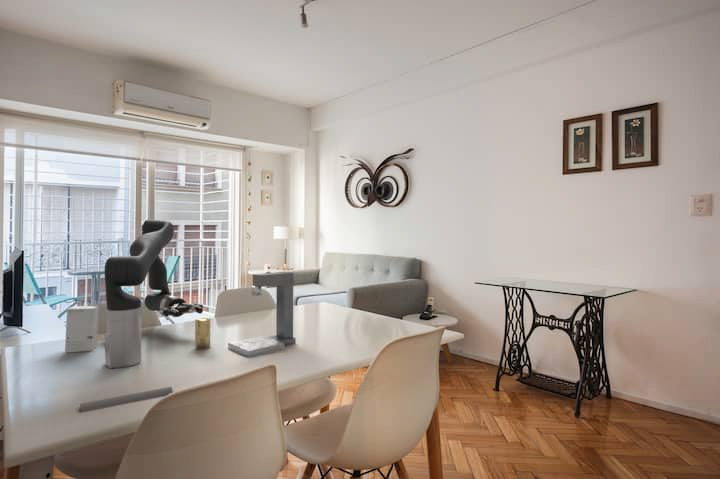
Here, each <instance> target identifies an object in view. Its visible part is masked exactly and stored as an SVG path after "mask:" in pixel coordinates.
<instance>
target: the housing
mask: <svg viewBox="0 0 720 479" xmlns="http://www.w3.org/2000/svg"><path fill="white" fill-rule="evenodd" d="M194 323H195V325H194V331H195V332H194V335H195V336H194V338H195V340H194V342H195V343H194V344H195V345H194V346H195V348H194V349H195V350H199V351H200V350H203V351H204V350H207V349H210V348H211V318H210V317H202V318H196V319H195V320H194Z"/></svg>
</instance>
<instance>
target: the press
mask: <svg viewBox="0 0 720 479" xmlns="http://www.w3.org/2000/svg"><path fill="white" fill-rule="evenodd" d="M273 286H276V315H275V316H276V322H275V323H276V325H275V326H276V330H275V331H276V335H272V336H268V337H267V336H265V335H260V336H259V335H258V336H256V337H250V338H244V339H239V340H235V341H229V342H228V343H227V348H228V350H231V351H233V352H236V353H238V354H240V355H243V356H245V357H247V358H251V357H255V356H256V357H257V356H259V355H264V354H268V353H272V352H276V351H281V350H284V349H285V347H286V346H290V345H293V344H296V342H297V341H296V337H294V272H289V271H278V272H270V271H266V272H264V273H254V274H252V286H251V296H261V295H262V287H273Z"/></svg>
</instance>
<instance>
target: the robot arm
mask: <svg viewBox="0 0 720 479" xmlns="http://www.w3.org/2000/svg"><path fill="white" fill-rule="evenodd" d="M174 232H175V229H174V225H173V223H172V222H171V221H169V220H163V219H162V220H161V219H146V220H145V221H144V222H143V223H142V227H141V235H140V236H138V237H137V238H136V239H135V240H134V241H133V242H132V244H130V247H129V255H128V256H125V255H123V256H110V257H108V258H107V259H106V261H105V263H104V283H105V284H104V286H105V288H104V289H105V301H106V302H105V303H106V333H105V334H104V362H105V365H106V366H107V367H108V368H109V369H114V368H125V367H131V366H135V365H138V364H140V363H141V362H142V300H141V298H140V297H138V296H136V295H133V294H130V293H127V292H126V291H124V290H123V289H122V287H136V286H140V285H142V284H143V282H144V281H145V280H146V278H147V277H148V286H149V288H150V289H151V290H153V291H157V292H152V293H148V294H147V295H146V296H145V297H144V301H143V303H144V306H145V307H146V309H147V310H149V311H151V312H160V314H161V315H162V316H164V317H169V316H171V317H173V318H180V317H181V316H183V315H185V314H194V313H196V314H203V311H204V305H203V304H201V303H197V302H194V303H187V302H186V300H184V299H183V298H181V297H178V296H174V295H172V294H171V291H170V289H169V285H168V270H167V267H166V265H165V263H164V261H163V260H162V258H161V257H160V256H159V255H160V254H161V252H162V251H163V249H164V248H165V247H166V246H167V245H168V244H170V242H171V241H172V240H173V236H174V234H175V233H174ZM147 275H148V276H147Z"/></svg>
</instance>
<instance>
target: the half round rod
mask: <svg viewBox="0 0 720 479" xmlns="http://www.w3.org/2000/svg"><path fill="white" fill-rule="evenodd" d="M170 393H172V394H173V387H172V386H168V387H162V388H161V387H160V388H158V389H151V390H146V391H140V392H135V393H129V394H124V395H119V396H114V397H107V398H103V399H98V400H97V399H96V400H92V401H87V402H80V407H79V408H80V412H82V413H85V412H89V411H95V410H96V411H97V410H100V409H105V408H110V407H116V406H121V405H125V404H130V403H136V402H140V401H146V400H151V399H156V398H161V397H166V395H167V396H169V395H168V394H170Z"/></svg>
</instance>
